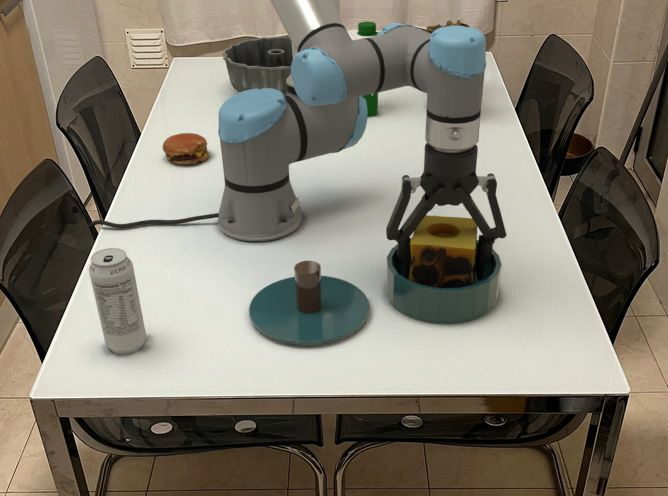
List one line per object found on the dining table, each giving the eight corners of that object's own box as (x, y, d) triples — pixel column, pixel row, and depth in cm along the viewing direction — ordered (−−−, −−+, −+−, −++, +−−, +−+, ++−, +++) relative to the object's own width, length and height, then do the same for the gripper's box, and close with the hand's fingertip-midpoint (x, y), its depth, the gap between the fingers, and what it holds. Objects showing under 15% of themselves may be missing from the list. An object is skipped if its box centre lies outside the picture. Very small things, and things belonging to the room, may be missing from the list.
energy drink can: (149, 331, 127) (133, 244, 118) (144, 355, 122) (127, 266, 113) (109, 333, 126) (90, 246, 118) (103, 357, 122) (82, 268, 113)
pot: (389, 325, 127) (389, 291, 123) (384, 265, 141) (384, 234, 137) (505, 323, 126) (509, 290, 123) (488, 264, 140) (492, 232, 137)
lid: (244, 348, 123) (239, 302, 118) (254, 282, 137) (250, 238, 133) (370, 347, 122) (371, 300, 117) (367, 280, 137) (367, 236, 132)
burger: (173, 147, 183) (170, 127, 180) (214, 149, 182) (211, 129, 179) (158, 166, 175) (155, 145, 173) (201, 168, 174) (199, 147, 171)
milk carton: (382, 116, 196) (383, 28, 184) (346, 121, 194) (344, 32, 182) (370, 103, 203) (370, 18, 191) (334, 108, 200) (332, 22, 189)
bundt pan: (287, 67, 226) (285, 29, 220) (351, 91, 210) (351, 50, 204) (206, 90, 213) (201, 50, 207) (267, 117, 196) (264, 75, 191)
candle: (472, 306, 128) (477, 249, 122) (406, 301, 130) (408, 244, 124) (476, 272, 136) (481, 217, 130) (414, 267, 138) (416, 213, 132)
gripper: (370, 155, 116) (369, 290, 129) (538, 152, 115) (520, 287, 128) (369, 134, 122) (368, 265, 135) (528, 131, 121) (512, 263, 134)
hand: (442, 276), depth 132 cm, fingers closed on candle, 11 cm apart
